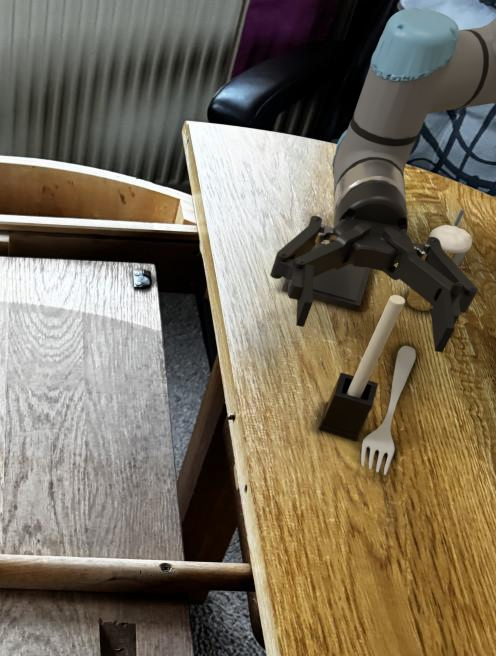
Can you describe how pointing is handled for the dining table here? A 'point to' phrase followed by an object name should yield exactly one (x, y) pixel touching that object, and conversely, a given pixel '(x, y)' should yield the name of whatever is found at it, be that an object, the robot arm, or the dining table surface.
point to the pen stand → (347, 409)
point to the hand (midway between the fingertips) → (374, 327)
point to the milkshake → (453, 245)
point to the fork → (389, 412)
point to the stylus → (376, 345)
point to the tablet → (340, 286)
